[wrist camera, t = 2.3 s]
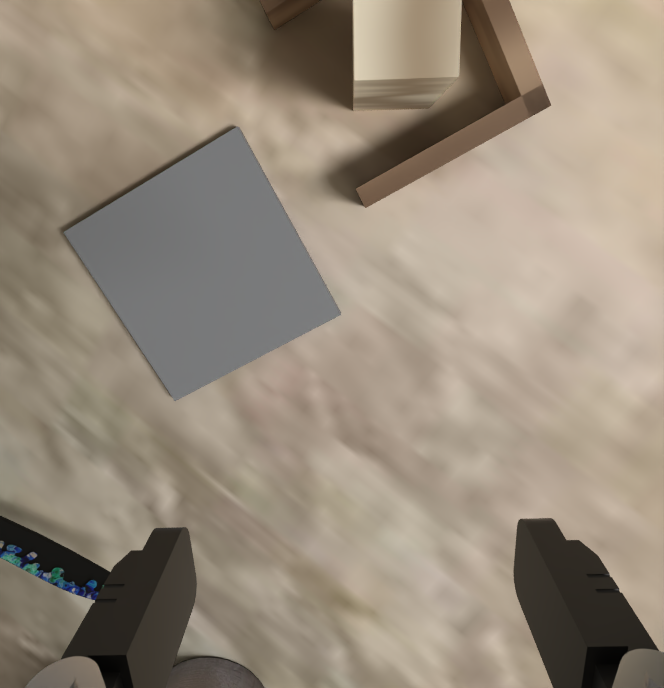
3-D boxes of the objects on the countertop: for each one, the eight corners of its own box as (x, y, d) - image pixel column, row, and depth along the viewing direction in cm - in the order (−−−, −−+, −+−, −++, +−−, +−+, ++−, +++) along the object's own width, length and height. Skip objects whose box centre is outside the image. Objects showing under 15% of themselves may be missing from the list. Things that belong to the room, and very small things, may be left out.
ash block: (353, 110, 32) (354, 80, 23) (352, 25, 30) (352, -40, 22) (429, 108, 31) (458, 76, 23) (431, 22, 30) (463, -45, 21)
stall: (263, 9, 30) (254, -10, 27) (442, -106, 28) (453, -140, 25) (364, 206, 33) (365, 207, 30) (532, 113, 31) (551, 105, 28)
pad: (68, 231, 34) (63, 232, 33) (239, 127, 32) (237, 126, 31) (177, 397, 37) (174, 401, 36) (340, 312, 35) (340, 314, 34)
